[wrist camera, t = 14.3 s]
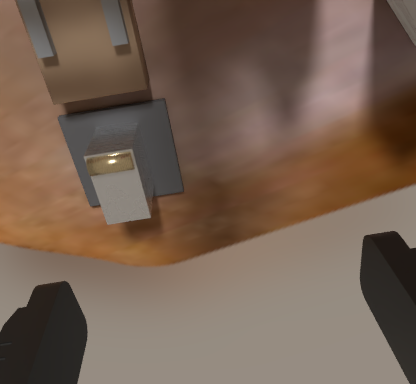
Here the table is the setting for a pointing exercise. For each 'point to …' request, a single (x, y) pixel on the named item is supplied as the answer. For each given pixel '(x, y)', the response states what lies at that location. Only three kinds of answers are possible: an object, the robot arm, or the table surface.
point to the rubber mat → (151, 133)
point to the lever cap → (120, 172)
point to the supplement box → (406, 15)
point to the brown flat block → (85, 47)
